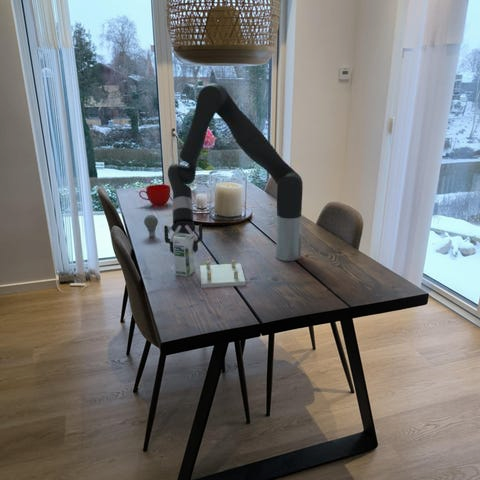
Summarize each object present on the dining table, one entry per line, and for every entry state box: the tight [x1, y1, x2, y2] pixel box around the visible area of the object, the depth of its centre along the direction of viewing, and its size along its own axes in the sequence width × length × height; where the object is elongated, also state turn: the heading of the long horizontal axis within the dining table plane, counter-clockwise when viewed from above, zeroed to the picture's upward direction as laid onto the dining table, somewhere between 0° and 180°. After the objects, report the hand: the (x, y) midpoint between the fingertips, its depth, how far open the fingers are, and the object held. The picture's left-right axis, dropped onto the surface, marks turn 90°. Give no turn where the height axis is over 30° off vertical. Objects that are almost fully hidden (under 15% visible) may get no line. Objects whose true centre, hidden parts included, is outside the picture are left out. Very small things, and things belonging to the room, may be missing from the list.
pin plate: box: [199, 259, 246, 289], centre depth 155 cm, size 15×15×4 cm
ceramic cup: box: [138, 183, 171, 207], centre depth 239 cm, size 13×17×10 cm
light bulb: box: [143, 214, 159, 238], centre depth 193 cm, size 6×6×10 cm
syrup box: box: [173, 233, 196, 278], centre depth 156 cm, size 6×6×14 cm
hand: (184, 252), depth 155 cm, fingers closed on syrup box, 7 cm apart
